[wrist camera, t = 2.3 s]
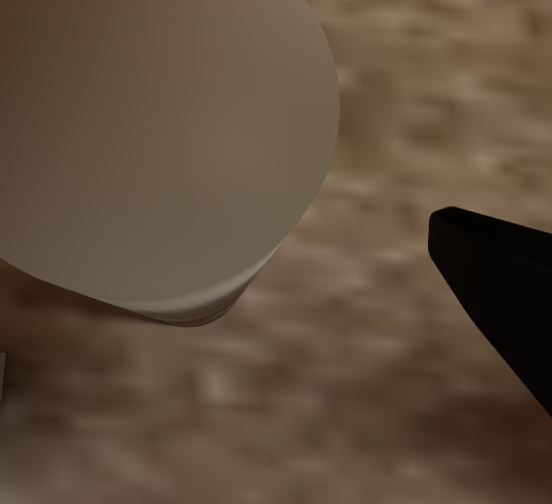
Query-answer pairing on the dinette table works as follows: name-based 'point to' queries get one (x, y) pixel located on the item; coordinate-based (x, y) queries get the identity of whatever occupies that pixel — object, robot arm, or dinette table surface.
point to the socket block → (2, 371)
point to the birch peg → (160, 145)
